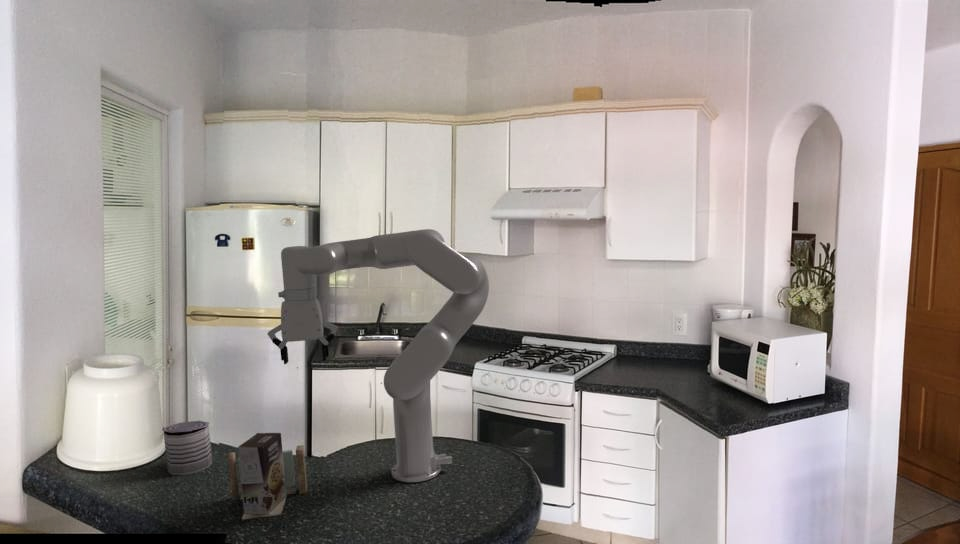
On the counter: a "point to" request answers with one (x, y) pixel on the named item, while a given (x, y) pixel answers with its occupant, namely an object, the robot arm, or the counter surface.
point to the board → (274, 512)
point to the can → (187, 447)
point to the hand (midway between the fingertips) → (305, 361)
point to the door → (285, 468)
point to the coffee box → (262, 473)
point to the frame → (302, 489)
